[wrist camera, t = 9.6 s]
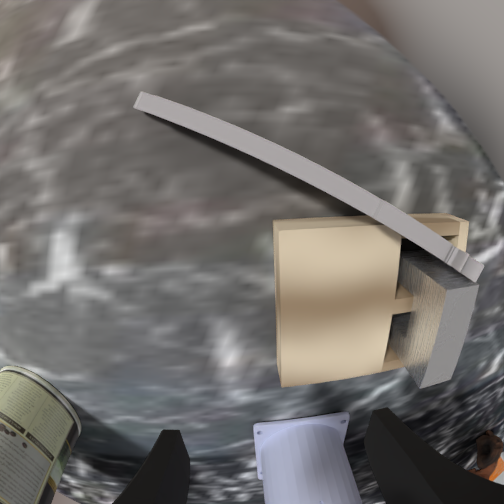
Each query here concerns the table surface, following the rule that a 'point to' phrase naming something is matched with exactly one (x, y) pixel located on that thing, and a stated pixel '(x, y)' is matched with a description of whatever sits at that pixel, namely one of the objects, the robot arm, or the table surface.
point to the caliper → (312, 178)
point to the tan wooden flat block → (342, 294)
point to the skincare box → (498, 471)
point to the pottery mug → (487, 454)
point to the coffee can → (33, 437)
